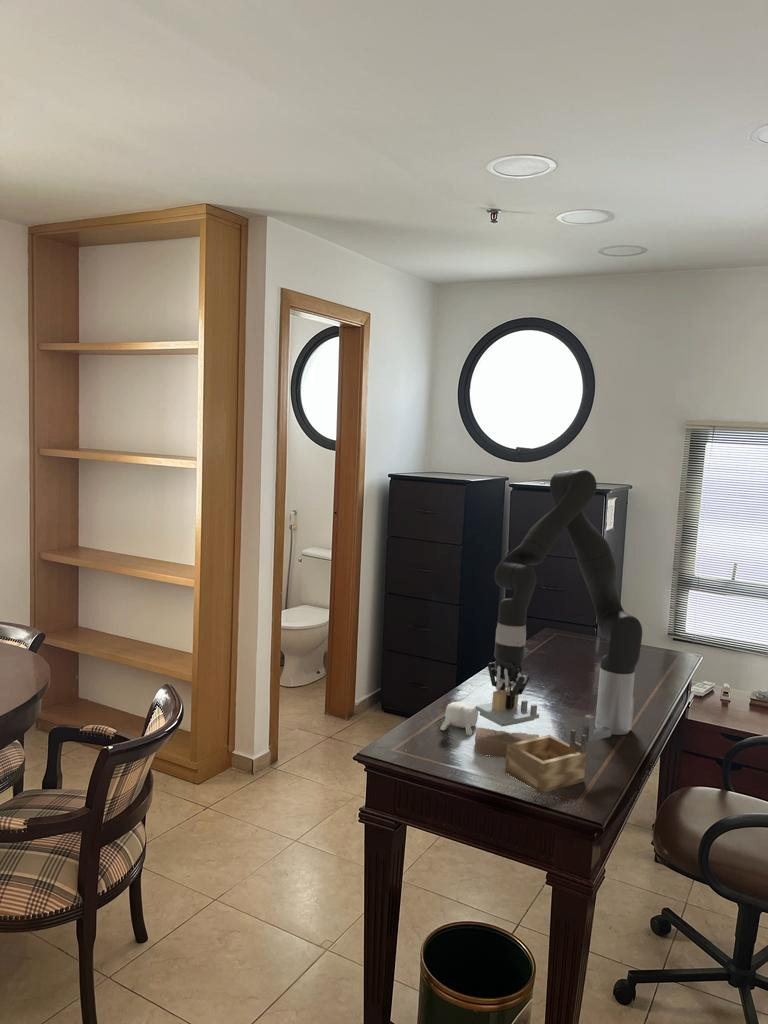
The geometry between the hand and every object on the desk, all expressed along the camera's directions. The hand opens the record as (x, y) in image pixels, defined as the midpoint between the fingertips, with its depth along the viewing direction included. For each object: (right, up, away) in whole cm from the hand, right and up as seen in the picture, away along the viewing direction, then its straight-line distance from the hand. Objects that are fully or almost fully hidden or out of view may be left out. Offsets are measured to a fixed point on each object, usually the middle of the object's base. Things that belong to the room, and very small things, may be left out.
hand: (505, 706), depth 199 cm
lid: (0, -2, -1) cm, 2 cm away
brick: (+1, -12, 0) cm, 12 cm away
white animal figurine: (-11, -10, +13) cm, 19 cm away
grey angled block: (+20, -5, -11) cm, 23 cm away
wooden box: (+7, -13, -14) cm, 21 cm away
